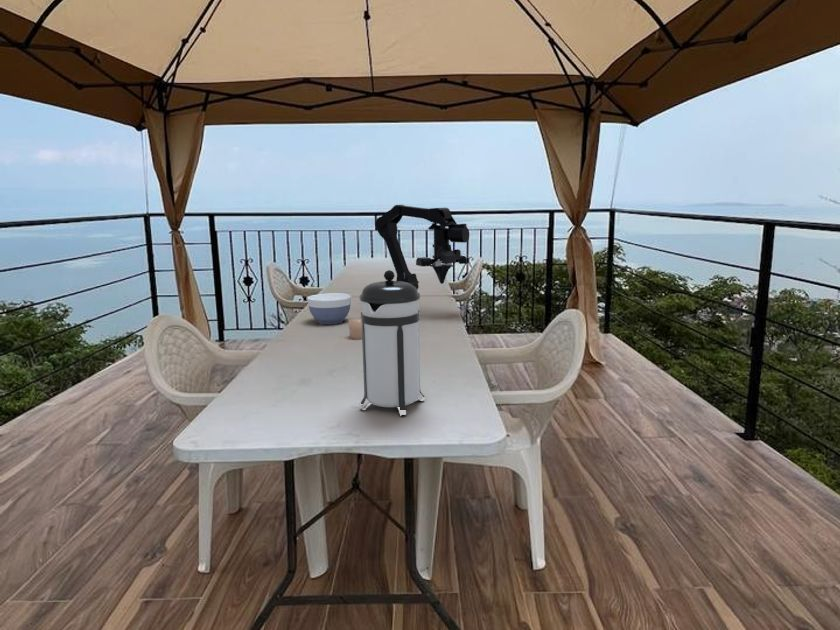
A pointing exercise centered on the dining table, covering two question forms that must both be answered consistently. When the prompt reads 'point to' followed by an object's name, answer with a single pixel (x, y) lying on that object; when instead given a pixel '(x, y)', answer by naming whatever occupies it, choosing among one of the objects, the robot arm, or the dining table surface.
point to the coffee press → (390, 343)
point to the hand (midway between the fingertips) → (441, 283)
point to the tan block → (355, 328)
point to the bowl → (329, 307)
